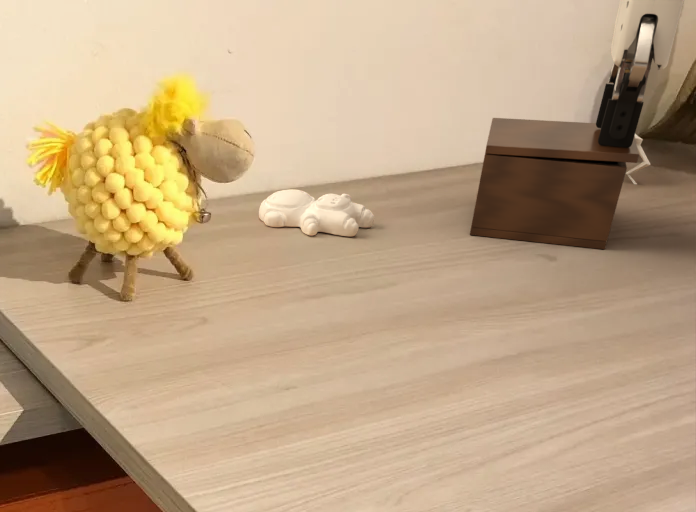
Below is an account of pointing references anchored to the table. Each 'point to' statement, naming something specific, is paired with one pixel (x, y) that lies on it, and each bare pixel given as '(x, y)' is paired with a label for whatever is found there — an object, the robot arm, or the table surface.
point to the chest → (547, 199)
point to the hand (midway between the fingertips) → (612, 135)
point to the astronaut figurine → (315, 213)
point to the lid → (554, 141)
